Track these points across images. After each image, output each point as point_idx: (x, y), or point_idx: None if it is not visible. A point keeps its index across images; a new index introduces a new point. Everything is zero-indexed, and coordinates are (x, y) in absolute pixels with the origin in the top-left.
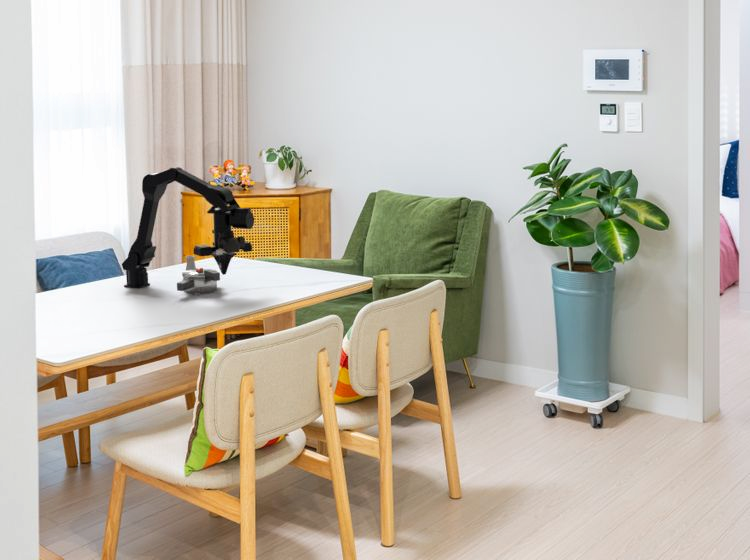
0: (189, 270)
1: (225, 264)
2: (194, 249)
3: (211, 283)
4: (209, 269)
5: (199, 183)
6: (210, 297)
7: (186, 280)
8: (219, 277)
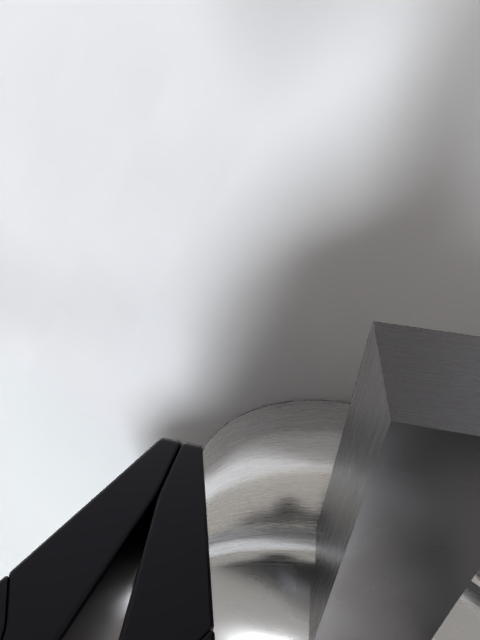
0: None
1: (84, 619)
2: None
3: (302, 467)
4: None
5: None
6: (474, 257)
7: None
8: (387, 354)
